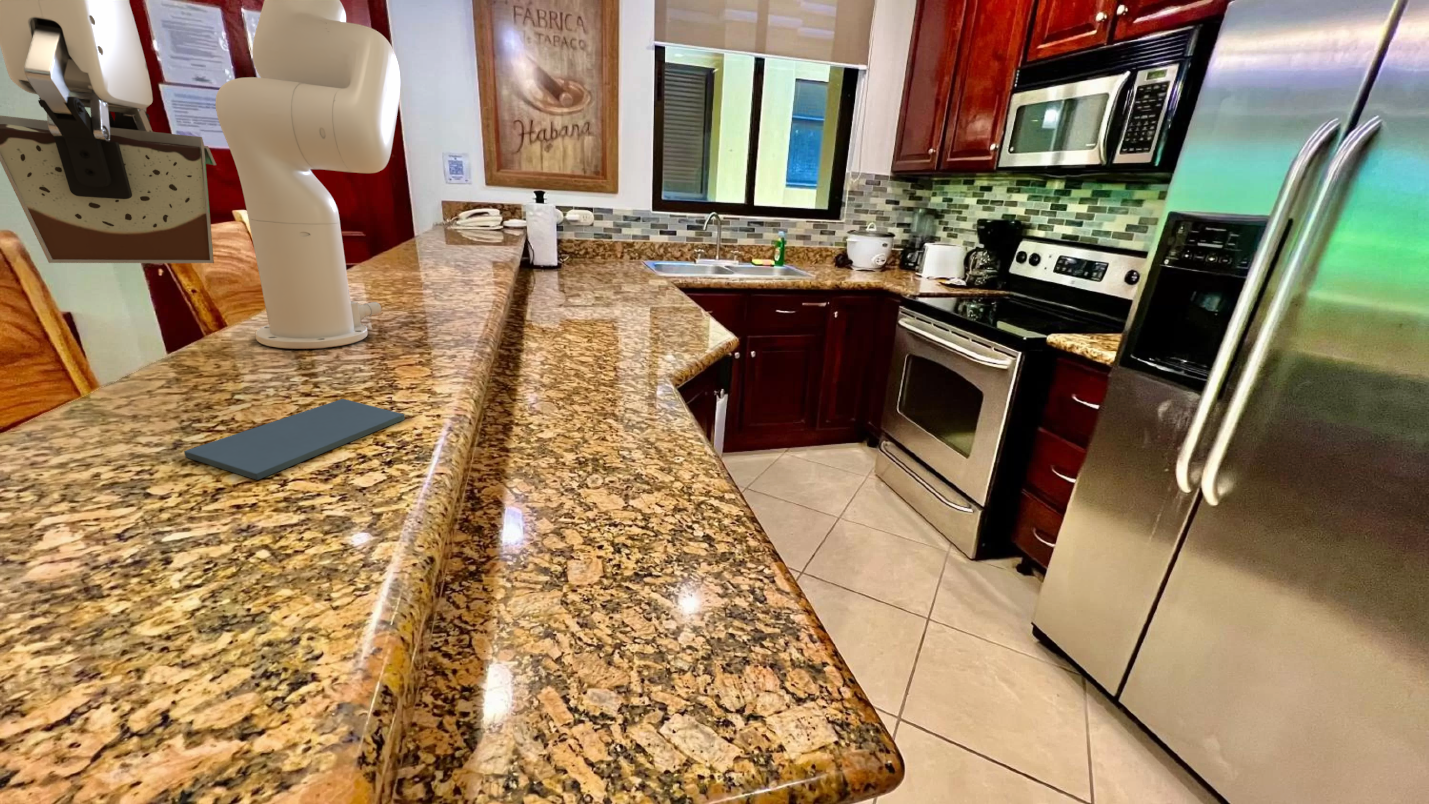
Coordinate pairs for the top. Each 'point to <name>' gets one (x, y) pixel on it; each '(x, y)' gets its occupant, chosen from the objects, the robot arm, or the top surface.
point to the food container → (108, 230)
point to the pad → (293, 438)
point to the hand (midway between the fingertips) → (123, 192)
